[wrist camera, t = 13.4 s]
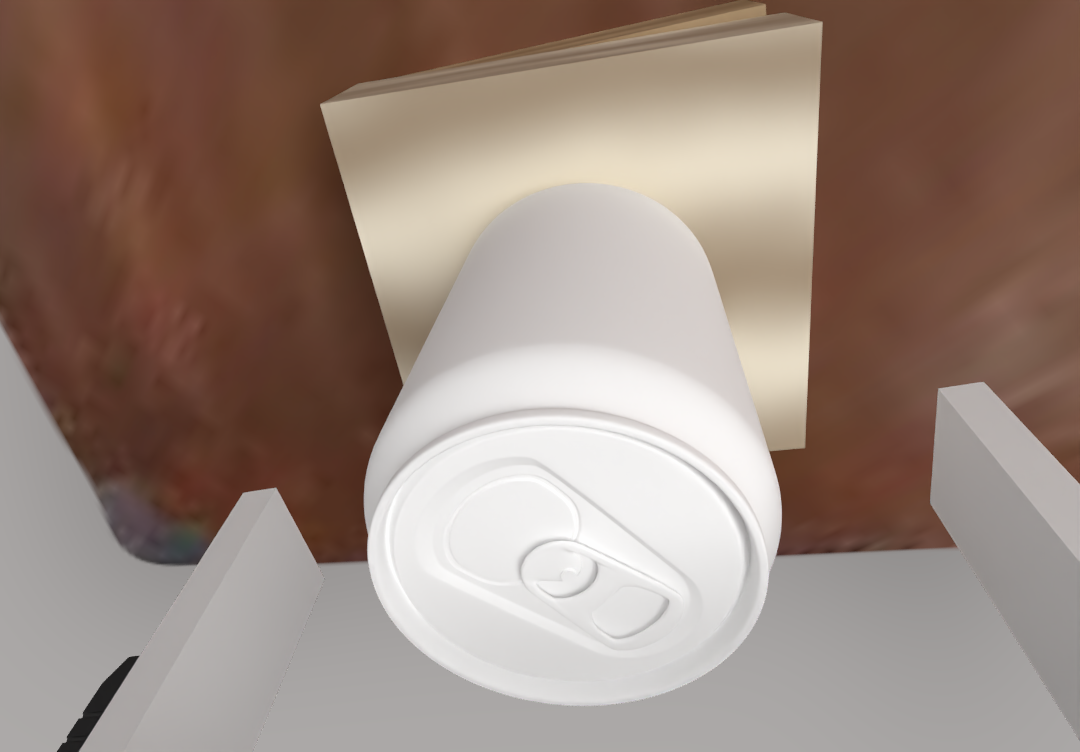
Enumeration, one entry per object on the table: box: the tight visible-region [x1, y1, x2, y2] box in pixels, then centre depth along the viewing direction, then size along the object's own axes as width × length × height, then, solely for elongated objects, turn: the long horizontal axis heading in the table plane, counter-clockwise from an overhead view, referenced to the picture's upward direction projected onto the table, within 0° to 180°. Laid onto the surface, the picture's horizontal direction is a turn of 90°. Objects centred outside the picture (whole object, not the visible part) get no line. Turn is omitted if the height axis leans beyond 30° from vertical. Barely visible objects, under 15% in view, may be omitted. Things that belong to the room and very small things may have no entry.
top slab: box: [320, 13, 822, 451], centre depth 24 cm, size 14×14×4 cm
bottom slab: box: [400, 0, 766, 77], centre depth 28 cm, size 14×14×4 cm
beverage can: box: [364, 183, 782, 706], centre depth 18 cm, size 8×8×12 cm
